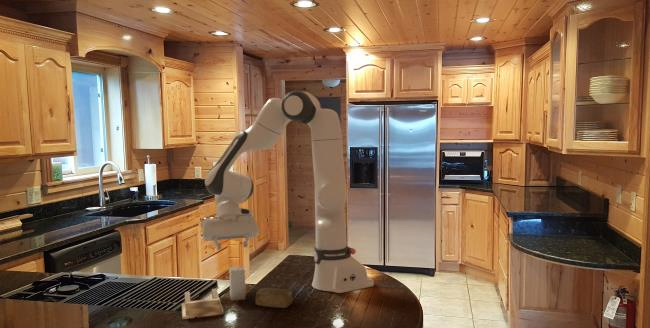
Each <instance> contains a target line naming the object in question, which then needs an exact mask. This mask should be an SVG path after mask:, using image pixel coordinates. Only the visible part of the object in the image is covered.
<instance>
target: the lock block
mask: <svg viewBox="0 0 650 328" xmlns="http://www.w3.org/2000/svg"><path fill="white" fill-rule="evenodd" d="M228 270H229V296H230V300H231V301H233V302H234V301H241V300H243V301H244V300H246V272H245V271H246V270H245V267H244V266H241V265H240V266H232V267H231V266H230V267H229V269H228Z"/></svg>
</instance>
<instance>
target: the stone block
mask: <svg viewBox="0 0 650 328" xmlns="http://www.w3.org/2000/svg"><path fill="white" fill-rule="evenodd" d="M293 299H294V298H293V292H292V290H291V289H286V288H285V289H284V288H277V287H276V288H273V287H261V288H260V289H259V290H257V291H256V293H255V300H254V301H255V302H254V304H255V305H257V306H259V307H264V308H266V307H267V308H278V309H286V308H288V307H289V306H291V305H293Z"/></svg>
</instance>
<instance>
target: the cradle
mask: <svg viewBox="0 0 650 328" xmlns="http://www.w3.org/2000/svg"><path fill="white" fill-rule="evenodd" d="M218 315H219V316H220V315H224V308H223V305H222V302H221V298H220V297H219V293H218V290H217V288H211V298H207V299H200V300H199V299H198V300H193V301H192V300H191V293H190V291H185V292H184V302H182V303H181V316H182V320H189V318H190V319H194V318H195V317H197V318H204V317H211V316H218ZM195 319H196V318H195Z"/></svg>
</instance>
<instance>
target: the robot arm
mask: <svg viewBox="0 0 650 328" xmlns="http://www.w3.org/2000/svg"><path fill="white" fill-rule="evenodd" d="M290 122H296V123H300V124H304V125H305V124H306V125H308V127H309V129H310V134H311V135H310V136H311V137H310V138H311V140H310V141H311V153H312V166H313V167H312V168H313V178H314V179H313V180H314V182H313V183H314V215H315V217H314V218H315V219H314V220H315V221H314V222H315V246H314V253H313V255H314V257H313V258H314V263H315V267H314V273H313V279H312V283H311V287H312V288H314V289H315V290H319V291H323V292H332V293H337V294H343V293H348V292H351V291H356V290H361V289H366V288H371V287H374V286H375V284H374V283H375V282H374V280H373V279H372V277H370V276H368V273H367V269H366V267H365V265H364V264H362V263H361V262H360V261H359V260H357V259H356V258H355V257H354V256H352V255H356V253H357V251H356V250H357V249H355V248H353V247H350V246H348V245H347V222H346V210H345V209H346V205H345V204H346V202H347V200H348V199H347V198H348V192H347V190H348V189H347V182H346V181H347V179H346V172H345V162H344V145H343V132H342V126H341V121H340V117H339V114H338V113H337V112H336V111H335V110H333V109H330V108H323V105H322V102H321V101H320V99H319V98H318V97H317V96H315V95H313V94H311V93H310V92H307V91H303V90H292V91H290V92H288V93H287V94H285V95H284V97H283V99H282V98H279V97H271V98H269V99H268V100H266V103H264V105H263V106H262V108H261V110H259V113H258V114H257V116H256V117H255V119H254V122H253V123H252V124H251V126H250V127H248V128H247V129H246V130H244V131H240V132H239V133H238V134H237V135H236V136H235V137H234V138H233V140H232V141H231V143H229V145H228V147H227V148H226V149H225V150H224V151H223V153H222V154H221V156H220V158H219V159H218V160H217V162H216V163H215V165H214V166H212V167H211V169H209V171H208V172H207V174H206V175H205V178H204V186H205V188H206V191H208V193H209V194H211V195H214V202H215V205H216V209H215V212H216V216H214V217H204V218H203V219H202V220H200V227H201V228H202V240H203V241H204V242H212V243H213V244H214V246H216V250H217V251H219V250H220V251H221V250H222V244H221V243H220V242H218V241H222V240H223V241H227V240H236V239H237V240H238V239H244V241H243V242H242V247H243V248H244V249H245V248H249V247H248V246H249V245H248V244H249V241H250V239H251V238H257V237H258V235H259V226H258V223H257V220H256V218H255V217H254V216H253V210H252V209H248V208H242V207H240V204H241V205H242V204H243V203H244V202H246V201H247V200H249V199H250V198H251V197H252V195H253V193H254V182H253V179H252V178H251V177H250V176H247V175H245V174H242V173H237V172H235V171H231V170H230V169H231V168H232V166H233V165H234V164H235V162H236V161H237V159H238V158H239V157H240V156H241V155H242V154H243V153H246V152H249V151H251V152H252V151H264V150H265V151H266V150H269V149H271V148H273V147H274V146H275V145H276V144H278V142H279V140H280V138H281V137H282V135H283V133H284V130H285V128H286V127H287V126H288V124H289V123H290Z"/></svg>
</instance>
